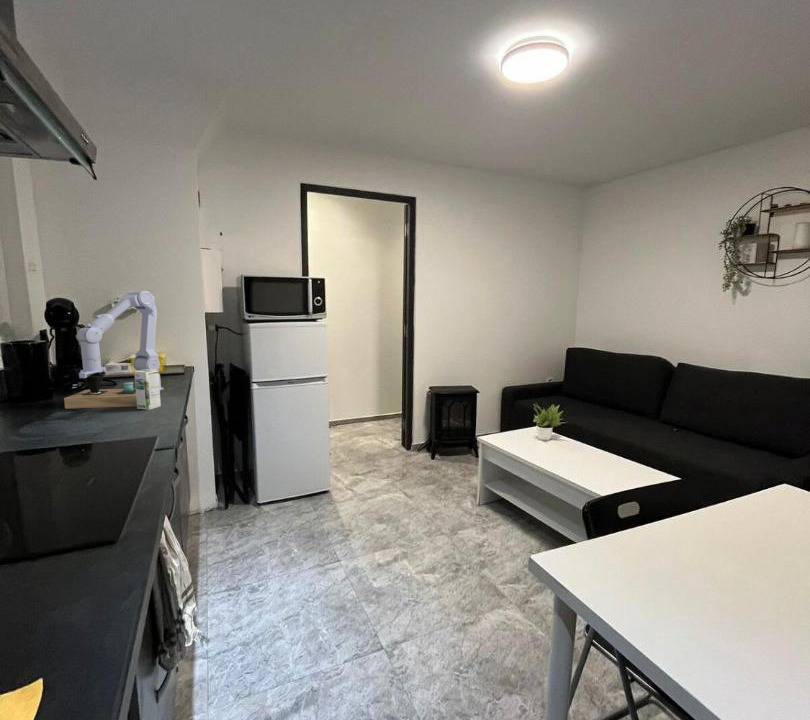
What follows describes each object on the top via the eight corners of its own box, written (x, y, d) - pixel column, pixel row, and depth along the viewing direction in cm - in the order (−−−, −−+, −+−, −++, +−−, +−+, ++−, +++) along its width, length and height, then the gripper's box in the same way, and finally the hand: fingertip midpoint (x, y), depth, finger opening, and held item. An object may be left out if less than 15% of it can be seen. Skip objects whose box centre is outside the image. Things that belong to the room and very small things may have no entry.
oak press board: (86, 399, 168) (85, 389, 167) (156, 397, 172) (155, 387, 172) (65, 408, 154) (63, 397, 153) (141, 406, 159) (140, 394, 158)
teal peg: (126, 392, 165) (125, 382, 164) (135, 392, 166) (134, 381, 165) (122, 394, 162) (121, 383, 161) (131, 393, 162) (130, 383, 162)
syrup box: (136, 409, 154) (133, 371, 152) (150, 405, 160) (147, 368, 158) (148, 410, 153) (144, 372, 151) (161, 406, 158) (158, 369, 156)
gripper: (90, 356, 166) (94, 389, 168) (68, 361, 151) (72, 397, 154) (109, 355, 167) (113, 388, 169) (89, 361, 153) (93, 396, 155)
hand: (95, 392), depth 161 cm, fingers closed, pressing on cream peg
